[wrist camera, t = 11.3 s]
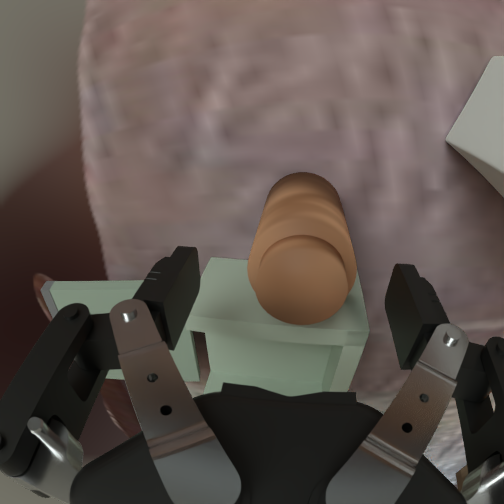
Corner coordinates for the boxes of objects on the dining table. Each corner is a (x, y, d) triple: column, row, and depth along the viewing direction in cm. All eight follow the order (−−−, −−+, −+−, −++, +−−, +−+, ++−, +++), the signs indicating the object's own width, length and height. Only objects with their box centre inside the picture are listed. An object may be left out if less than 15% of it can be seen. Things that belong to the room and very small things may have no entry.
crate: (357, 268, 20) (369, 331, 15) (333, 364, 26) (334, 422, 20) (211, 257, 22) (183, 314, 17) (219, 353, 27) (203, 408, 22)
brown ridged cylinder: (344, 175, 17) (371, 243, 10) (335, 244, 20) (348, 336, 13) (266, 169, 18) (241, 232, 11) (265, 238, 20) (243, 327, 13)
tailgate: (182, 288, 19) (40, 290, 18) (199, 381, 24) (83, 376, 23) (184, 278, 20) (46, 281, 19) (200, 371, 25) (86, 367, 24)
